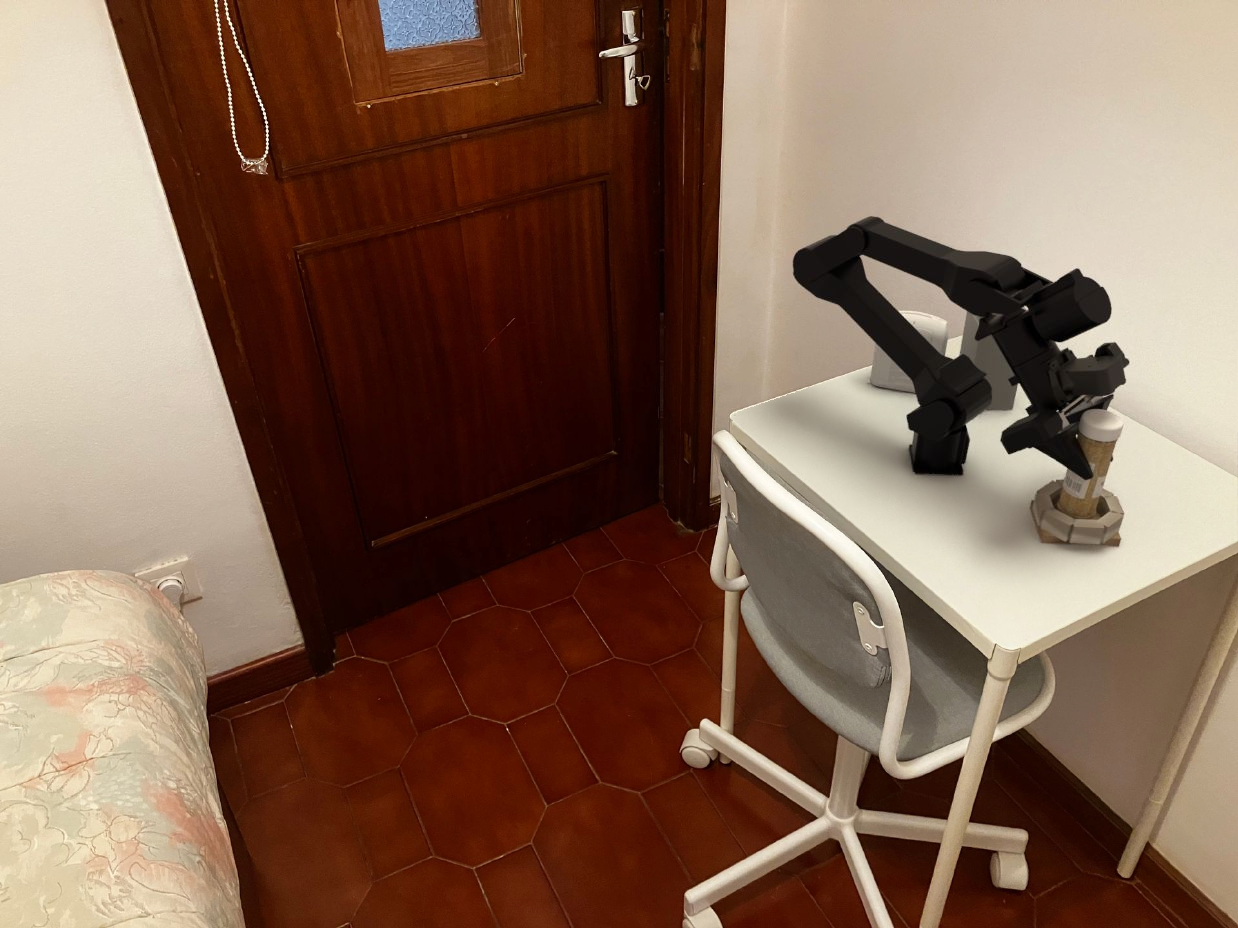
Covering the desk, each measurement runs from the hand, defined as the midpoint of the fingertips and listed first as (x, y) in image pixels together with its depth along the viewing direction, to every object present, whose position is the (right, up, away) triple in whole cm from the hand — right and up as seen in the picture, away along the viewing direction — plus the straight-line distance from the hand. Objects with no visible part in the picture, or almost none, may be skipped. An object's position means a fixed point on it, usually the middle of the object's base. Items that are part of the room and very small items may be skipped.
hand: (1099, 470), depth 120 cm
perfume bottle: (-3, +10, +31) cm, 33 cm away
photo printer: (-13, +12, +35) cm, 39 cm away
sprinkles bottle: (-1, -5, +5) cm, 7 cm away
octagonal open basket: (0, -7, +6) cm, 9 cm away
